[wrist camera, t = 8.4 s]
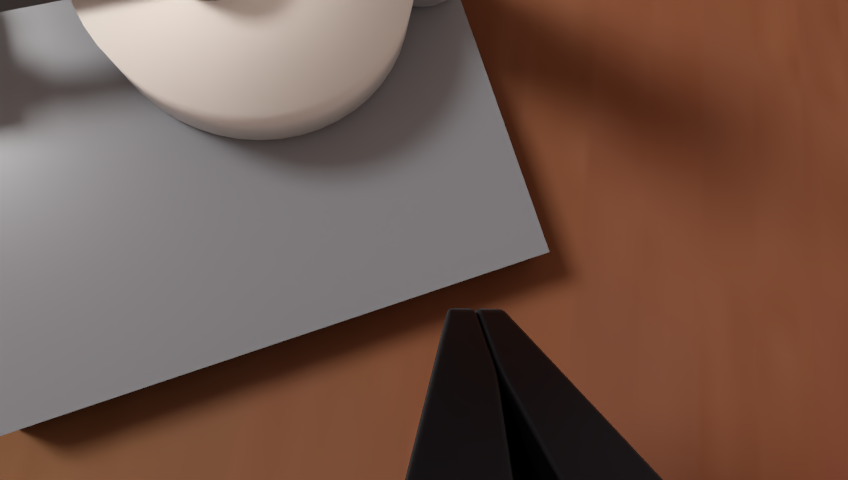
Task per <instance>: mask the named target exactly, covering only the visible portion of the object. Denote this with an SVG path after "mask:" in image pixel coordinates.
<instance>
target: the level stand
mask: <svg viewBox="0 0 848 480" xmlns="http://www.w3.org/2000/svg"><path fill="white" fill-rule="evenodd" d="M548 252H549V249H548V246H547V243H546V240H545V237H544V235H543V232H542V229H541V226H540V223H539V220H538V218H537V215H536V212H535V209H534V206H533V203H532V201H531V198H530V195H529V192H528V189H527V186H526V184H525V181H524V178H523V175H522V172H521V169H520V167H519V164H518V161H517V158H516V155H515V152H514V150H513V147H512V144H511V141H510V138H509V135H508V133H507V130H506V127H505V124H504V121H503V118H502V116H501V113H500V110H499V107H498V104H497V101H496V99H495V96H494V93H493V90H492V87H491V84H490V82H489V79H488V76H487V73H486V70H485V67H484V65H483V62H482V59H481V56H480V53H479V50H478V48H477V45H476V42H475V39H474V36H473V33H472V31H471V28H470V25H469V22H468V19H467V16H466V14H465V11H464V8H463V5H462V2H461V0H446V1H444V2H442V3H440V4H437V5H434V6H428V7H416V6H412V9H411V14H410V18H409V23H408V27H407V31H406V36H405V39H404V42H403V45H402V48H401V51H400V54H399V56H398V58H397V60H396V62H395V64H394V66H393V68H392V70H391V71H390V73H389V74H388V76H387V77H386V79H385V80H384V82H383V83H382V85H381V86H380V87H379V88H378V89H377V90H376V91H375V92H374V93H373V95H372V96H371V97H370V98H369V99H368V100H366V101H365V102H364V103H363V104H362V105H361V106H359V107H358V108H357V109H356V110H355V111H353V112H351V113H350V114H348V115H347V116H345V117H344V118H342V119H340V120H339V121H337V122H335V123H333V124H330V125H328V126H326V127H324V128H322V129H319V130H316V131H313V132H310V133H307V134H304V135H300V136H295V137H289V138H284V139H274V140H247V139H236V138H230V137H225V136H220V135H216V134H212V133H209V132H206V131H203V130H200V129H197V128H195V127H192V126H190V125H188V124H186V123H184V122H182V121H179V120H177V119H176V118H174V117H172V116H171V115H169V114H168V113H166V112H164V111H163V110H161V109H160V108H158V107H157V106H156V105H155V104H153V103H152V102H151V101H150V100H148V99H147V98H146V97H145V96H144V95H142V94H141V93H140V91H139V90H138V89H137V88H136V87H135V86H134V85H133V84H132V83H131V82H130V81H129V80H128V79H127V78H126V76H125V75H124V74H123V73H122V72H121V71H120V70H119V69H118V68H117V66H116V65H115V64H114V63H113V62H112V61H111V60H110V59H109V58H108V57H107V55H106V54H105V53H104V52H103V51H102V50H101V49H100V48H99V47H98V46H97V44H96V43H95V41H94V40H93V39H92V37H91V36H90V34H89V33H88V32H87V30H86V29H85V27H84V26H83V24H82V22H81V20H80V18H79V16H78V14H77V12H76V10H75V9H74V7H73V4H72V1H71V0H61V1H56V2H50V3H45V4H40V5H35V6H29V7H24V8H19V9H14V10H8V11H3V12H0V436H2V435H5V434H8V433H11V432H14V431H17V430H19V429H22V428H25V427H28V426H31V425H34V424H37V423H40V422H43V421H46V420H49V419H52V418H55V417H58V416H61V415H64V414H67V413H70V412H73V411H76V410H79V409H82V408H85V407H88V406H91V405H94V404H97V403H100V402H103V401H106V400H109V399H112V398H115V397H118V396H121V395H124V394H127V393H130V392H133V391H136V390H139V389H142V388H145V387H148V386H151V385H154V384H157V383H160V382H163V381H166V380H169V379H172V378H175V377H178V376H181V375H184V374H187V373H190V372H193V371H196V370H199V369H202V368H205V367H208V366H211V365H214V364H217V363H220V362H223V361H226V360H229V359H232V358H235V357H238V356H241V355H244V354H247V353H250V352H252V351H255V350H258V349H261V348H264V347H267V346H270V345H273V344H276V343H279V342H282V341H285V340H288V339H291V338H294V337H297V336H300V335H303V334H306V333H309V332H312V331H315V330H318V329H321V328H324V327H327V326H330V325H333V324H336V323H339V322H342V321H345V320H348V319H351V318H354V317H357V316H360V315H363V314H366V313H369V312H372V311H375V310H378V309H381V308H384V307H387V306H390V305H393V304H396V303H399V302H402V301H405V300H408V299H411V298H414V297H417V296H420V295H423V294H426V293H429V292H432V291H435V290H438V289H441V288H444V287H447V286H450V285H453V284H456V283H459V282H462V281H465V280H468V279H471V278H474V277H477V276H480V275H483V274H485V273H488V272H491V271H494V270H497V269H500V268H503V267H506V266H509V265H512V264H515V263H518V262H521V261H524V260H527V259H530V258H533V257H536V256H539V255H542V254H545V253H548Z"/></svg>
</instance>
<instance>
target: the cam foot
mask: <svg viewBox="0 0 848 480" xmlns="http://www.w3.org/2000/svg"><path fill="white" fill-rule="evenodd" d="M56 1H61V0H0V12H3V11H8V10H14V9H19V8H24V7H29V6H35V5H40V4H45V3H50V2H56ZM71 1H72V4H73V7H74V9H75V10H76V12H77V14H78V16H79V18H80V20H81V22H82V24H83V26H84V27H85V29H86V30H87V32H88V33H89V34H90V36H91V37H92V39H93V40H94V41H95V43H96V44H97V46H98V47H99V48H100V49H101V50H102V51H103V52H104V53H105V54H106V55H107V57H108V58H109V59H110V60H111V61H112V62H113V63H114V64H115V65H116V66H117V68H118V69H119V70H120V71H121V72H122V73H123V74H124V75H125V76H126V78H127V79H128V80H129V81H130V82H131V83H132V84H133V85H134V86H135V87H136V88H137V89H138V90H139V91H140V93H141V94H142V95H144V96H145V97H146V98H147V99H148V100H150V101H151V102H152V103H153V104H155V105H156V106H157V107H158V108H160V109H161V110H163V111H164V112H166V113H168V114H169V115H171V116H172V117H174V118H176V119H177V120H179V121H182V122H184V123H186V124H188V125H190V126H192V127H195V128H197V129H200V130H203V131H206V132H209V133H212V134H216V135H220V136H225V137H230V138H236V139H247V140H274V139H284V138H289V137H295V136H300V135H304V134H307V133H310V132H313V131H316V130H319V129H322V128H324V127H326V126H328V125H330V124H333V123H335V122H337V121H339V120H340V119H342V118H344V117H345V116H347V115H348V114H350V113H351V112H353V111H355V110H356V109H357V108H358V107H359V106H361V105H362V104H363V103H364V102H365V101H366V100H368V99H369V98H370V97H371V96H372V95H373V93H374V92H375V91H376V90H377V89H378V88H379V87H380V86H381V85H382V83H383V82H384V80H385V79H386V77H387V76H388V74H389V73H390V71H391V70H392V68H393V66H394V64H395V62H396V60H397V58H398V56H399V54H400V51H401V48H402V45H403V42H404V39H405V36H406V31H407V27H408V23H409V18H410V14H411V9H412V6H416V7H428V6H434V5H437V4H440V3H442V2H444V1H446V0H71Z"/></svg>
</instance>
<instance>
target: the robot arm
mask: <svg viewBox="0 0 848 480" xmlns="http://www.w3.org/2000/svg"><path fill="white" fill-rule="evenodd" d="M405 480H663V479H662V478H661V477H660V476H659V475H658V474H657V473H656V472H655V471H654V470H653V469H652V468H651V467H650V466H649V464H648V463H647V462H646V461H645V460H644V459H643V458H642V457H641V456H640V455H639V454H638V453H637V452H636V451H635V450H634V449H633V447H632V446H631V445H630V444H629V443H628V442H627V441H626V440H625V439H624V438H623V437H622V436H621V435H620V434H619V433H618V431H617V430H616V429H615V428H614V427H613V426H612V425H611V424H610V423H609V422H608V421H607V420H606V419H605V418H604V417H603V415H602V414H601V413H600V412H599V411H598V410H597V409H596V408H595V407H594V406H593V405H592V404H591V403H590V402H589V401H588V399H587V398H586V397H585V396H584V395H583V394H582V393H581V392H580V391H579V390H578V389H577V388H576V387H575V386H574V385H573V384H572V382H571V381H570V380H569V379H568V378H567V377H566V376H565V375H564V374H563V373H562V372H561V371H560V370H559V369H558V368H557V366H556V365H555V364H554V363H553V362H552V361H551V360H550V359H549V358H548V357H547V356H546V355H545V354H544V353H543V352H542V350H541V349H540V348H539V347H538V346H537V345H536V344H535V343H534V342H533V341H532V340H531V339H530V338H529V337H528V336H527V334H526V333H525V332H524V331H523V330H522V329H521V328H520V327H519V326H518V325H517V324H516V323H515V322H514V321H513V320H512V319H511V317H510V316H509V315H508V314H507V313H506V312H505V311H503V310H501V309H478V310H476V311H474V310H473V309H471V308H450V309H449V310H448V311H447V314H446V318H445V322H444V326H443V330H442V334H441V338H440V342H439V346H438V350H437V354H436V358H435V362H434V366H433V370H432V374H431V378H430V382H429V386H428V390H427V394H426V398H425V402H424V406H423V410H422V414H421V418H420V422H419V426H418V430H417V434H416V438H415V442H414V446H413V450H412V454H411V458H410V462H409V466H408V470H407V474H406V478H405Z"/></svg>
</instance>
